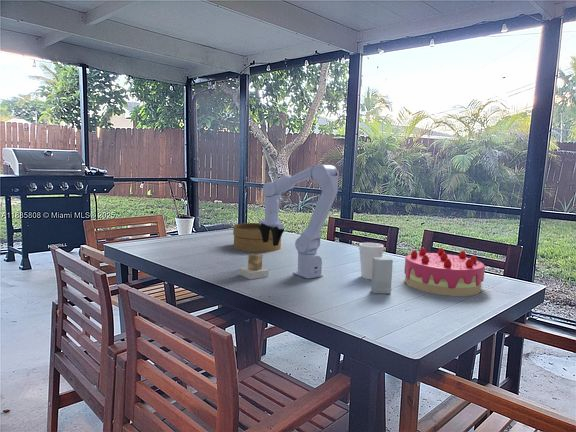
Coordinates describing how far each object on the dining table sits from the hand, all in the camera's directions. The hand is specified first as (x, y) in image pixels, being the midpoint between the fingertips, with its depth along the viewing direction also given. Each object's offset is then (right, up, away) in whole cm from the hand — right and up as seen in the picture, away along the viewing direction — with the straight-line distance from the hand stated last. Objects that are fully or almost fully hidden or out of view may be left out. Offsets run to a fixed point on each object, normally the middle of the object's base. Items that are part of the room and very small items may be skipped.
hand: (270, 243), depth 175 cm
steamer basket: (-9, -5, +42) cm, 43 cm away
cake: (+66, -15, -15) cm, 69 cm away
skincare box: (+40, -15, -28) cm, 51 cm away
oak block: (-5, -9, -13) cm, 17 cm away
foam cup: (+40, -13, -9) cm, 42 cm away
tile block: (-6, -12, -13) cm, 18 cm away
